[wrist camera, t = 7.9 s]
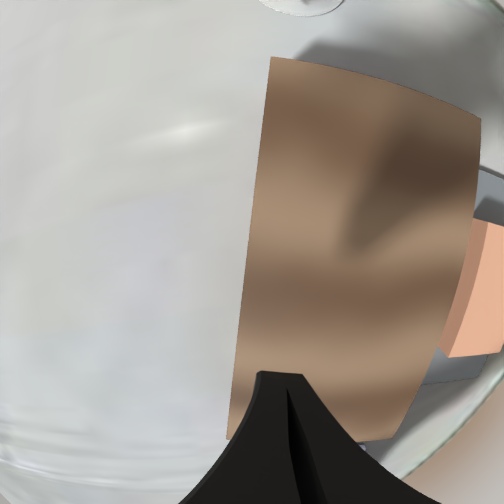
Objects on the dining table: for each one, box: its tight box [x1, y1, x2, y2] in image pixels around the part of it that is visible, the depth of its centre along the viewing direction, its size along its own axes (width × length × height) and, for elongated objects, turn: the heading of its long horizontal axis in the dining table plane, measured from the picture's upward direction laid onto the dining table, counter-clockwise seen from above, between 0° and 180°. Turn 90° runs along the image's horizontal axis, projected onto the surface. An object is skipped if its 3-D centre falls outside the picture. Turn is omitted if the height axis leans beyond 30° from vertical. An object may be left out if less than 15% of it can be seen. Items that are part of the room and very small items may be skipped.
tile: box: [438, 218, 504, 358], centre depth 15 cm, size 9×6×2 cm, turn 173°
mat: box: [421, 169, 504, 385], centre depth 17 cm, size 16×10×1 cm, turn 173°
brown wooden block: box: [226, 57, 481, 442], centre depth 15 cm, size 20×11×4 cm, turn 173°
